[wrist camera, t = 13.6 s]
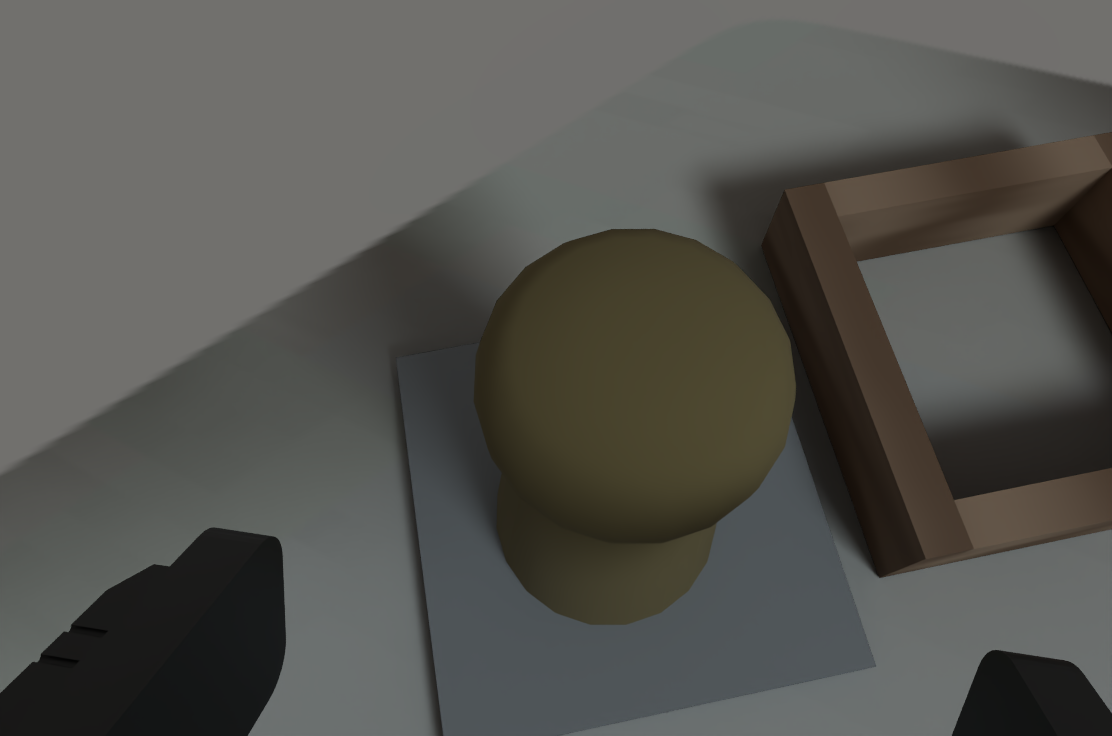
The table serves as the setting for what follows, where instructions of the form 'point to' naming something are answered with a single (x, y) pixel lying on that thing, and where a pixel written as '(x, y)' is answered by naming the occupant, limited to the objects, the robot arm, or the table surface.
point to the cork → (627, 416)
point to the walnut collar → (870, 364)
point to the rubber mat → (610, 650)
